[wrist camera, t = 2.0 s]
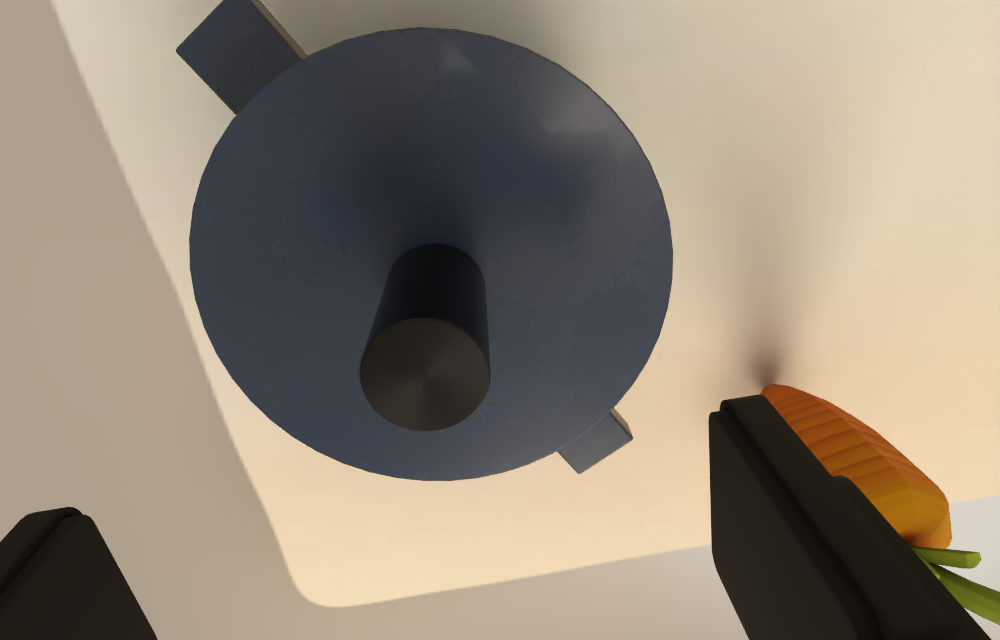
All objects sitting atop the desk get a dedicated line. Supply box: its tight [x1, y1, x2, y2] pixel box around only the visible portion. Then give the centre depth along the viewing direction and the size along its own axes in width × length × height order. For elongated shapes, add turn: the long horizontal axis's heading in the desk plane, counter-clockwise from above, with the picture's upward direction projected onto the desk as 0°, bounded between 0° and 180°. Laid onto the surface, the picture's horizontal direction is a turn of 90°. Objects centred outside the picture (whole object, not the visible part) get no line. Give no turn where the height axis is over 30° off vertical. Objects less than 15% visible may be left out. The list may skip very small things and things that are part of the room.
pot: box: [176, 0, 633, 474], centre depth 23 cm, size 13×18×10 cm
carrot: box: [760, 384, 1000, 625], centre depth 26 cm, size 5×5×15 cm
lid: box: [189, 27, 673, 481], centre depth 16 cm, size 14×14×6 cm
